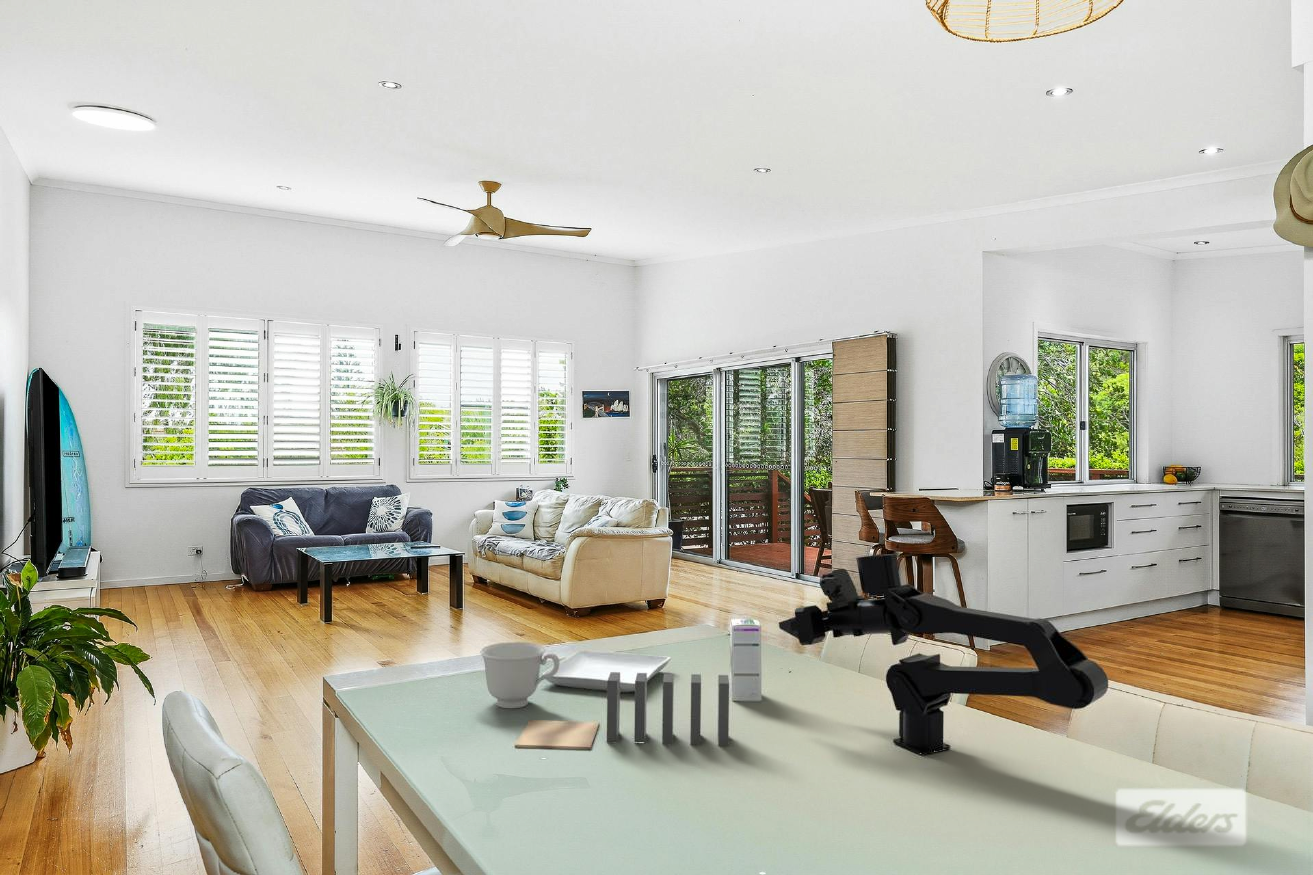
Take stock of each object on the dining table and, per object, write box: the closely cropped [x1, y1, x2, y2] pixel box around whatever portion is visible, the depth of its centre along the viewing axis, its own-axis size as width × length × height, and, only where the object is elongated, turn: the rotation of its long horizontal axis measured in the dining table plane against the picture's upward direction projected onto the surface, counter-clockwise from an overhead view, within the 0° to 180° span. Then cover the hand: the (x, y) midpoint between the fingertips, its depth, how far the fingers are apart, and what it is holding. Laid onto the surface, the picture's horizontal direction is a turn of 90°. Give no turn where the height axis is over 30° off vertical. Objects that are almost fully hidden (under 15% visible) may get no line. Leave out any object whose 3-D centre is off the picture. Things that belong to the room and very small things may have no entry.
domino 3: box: [661, 673, 675, 745], centre depth 138 cm, size 2×5×10 cm, turn 177°
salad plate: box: [541, 650, 671, 693], centre depth 173 cm, size 21×21×3 cm
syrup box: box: [729, 618, 763, 702], centre depth 162 cm, size 6×6×14 cm
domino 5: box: [717, 674, 730, 747], centre depth 138 cm, size 2×5×10 cm, turn 177°
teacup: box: [479, 641, 560, 709], centre depth 156 cm, size 12×15×10 cm
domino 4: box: [689, 673, 702, 746], centre depth 138 cm, size 2×5×10 cm, turn 177°
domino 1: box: [606, 672, 621, 743], centre depth 139 cm, size 2×5×10 cm, turn 177°
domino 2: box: [633, 673, 648, 743], centre depth 139 cm, size 2×5×10 cm, turn 177°
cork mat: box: [514, 719, 600, 750], centre depth 139 cm, size 12×12×1 cm
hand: (794, 621), depth 154 cm, fingers open, 9 cm apart
